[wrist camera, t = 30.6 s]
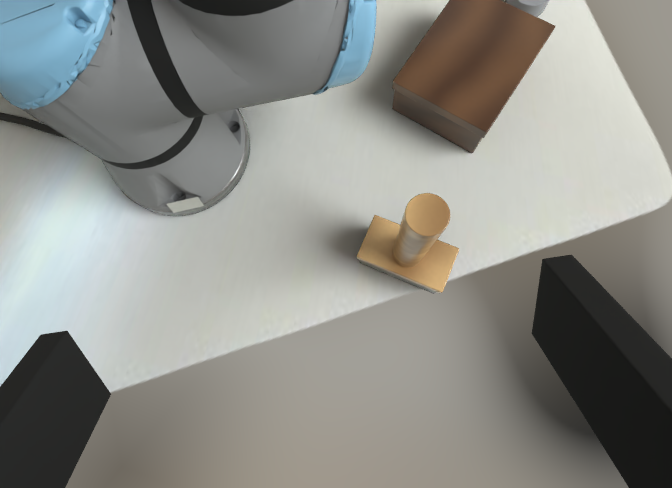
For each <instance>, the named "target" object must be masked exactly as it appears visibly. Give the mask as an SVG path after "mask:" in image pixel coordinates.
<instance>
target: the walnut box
mask: <svg viewBox="0 0 672 488" xmlns="http://www.w3.org/2000/svg"><path fill="white" fill-rule="evenodd" d="M554 28H555V26H554V25H552V24H550V23H548V22H546V21H544V20H542V19H540V18H537V17H535V16H533V15H531V14H529V13H527V12H525V11H523V10H521V9H518V8H516V7H514V6H512V5H510V4H508V3H506V2H504V1H502V0H449V2H448V3H447V5H446V6H445V8H444V9H443V10H442V12H441V13H440V15H439V16H438V18H437V19H436V20H435V22H434V23H433V25H432V26H431V28H430V29H429V30H428V32H427V33H426V35H425V36H424V38H423V39H422V40H421V42H420V43H419V45H418V46H417V48H416V49H415V50H414V52H413V53H412V55H411V56H410V57H409V59H408V60H407V62H406V63H405V65H404V66H403V67H402V69H401V70H400V72H399V73H398V75H397V76H396V77H395V79H394V80H393V84H392V88H393V89H394V99H393V108H392V109H394V110H395V111H397V112H399V113H401V114H403V115H404V116H406V117H408V118H410V119H412V120H413V121H415V122H417V123H419V124H421V125H422V126H424V127H426V128H428V129H430V130H431V131H433V132H435V133H437V134H439V135H440V136H442V137H444V138H446V139H448V140H449V141H451V142H453V143H455V144H457V145H458V146H460V147H462V148H464V149H466V150H467V151H469V152H471V153H473V152H474V150H475V149H476V147H477V146H478V144H479V143H480V141H481V139H482V138H484V137H485V136H486V134H487V132H488V131H489V129H490V128H491V126H492V125H493V123H494V122H495V120H496V119H497V117H498V115H499V114H500V112H501V111H502V109H503V108H504V106H505V105H506V103H507V101H508V100H509V98H510V97H511V95H512V94H513V92H514V91H515V89H516V88H517V86H518V84H519V83H520V81H521V80H522V78H523V77H524V75H525V74H526V72H527V70H528V69H529V67H530V66H531V64H532V63H533V61H534V60H535V58H536V57H537V55H538V53H539V52H540V50H541V49H542V47H543V46H544V44H545V43H546V41H547V39H548V38H549V36H550V35H551V33H552V32H553V30H554Z"/></svg>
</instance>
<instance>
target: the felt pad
mask: <svg viewBox="0 0 672 488" xmlns="http://www.w3.org/2000/svg"><path fill="white" fill-rule="evenodd" d="M548 2H549V0H506V3H508V4H510V5H512V6H514V7H516V8H518V9H521V10H523V11H525V12H527V13H529V14H531V15H533V16H535V17H537V16H539V15H540V14H541V13H542V12H543V11H544V9H545V7H546V5H547V4H548Z"/></svg>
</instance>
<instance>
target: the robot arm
mask: <svg viewBox="0 0 672 488" xmlns="http://www.w3.org/2000/svg"><path fill="white" fill-rule="evenodd" d="M375 26H376V0H0V93H1V94H2V96H3V97H4V98H5V99H6V100H8V101H9V102H10V103H11V104H13V105H15V106H17V107H19V108H21V109H22V110H24V111H26V112H27V113H29V114H30V115H32V116H34V117H35V118H37V119H38V120H40V121H41V122H43V123H45V124H46V125H45V124H42V123H39V122H36V121H33V120H30V119H26V118H22V117H18V116H14V115H9V114H4V113H0V120H4V121H9V122H13V123H18V124H22V125H26V126H29V127H32V128H35V129H38V130H41V131H44V132H47V133H51V134H54V135H58V136H62V137H67V138H69V139H70V140H72V141H73V142H75V143H76V144H78V145H80V146H81V147H83V148H84V149H86V150H88V151H89V152H91V153H92V154H94V155H96V156H97V157H99V158H100V159H101V160H102V162H103V163H104V165H105V167H106V168H107V170H108V172H109V173H110V175H111V176H112V178H113V180H114V181H115V183H116V184H117V186H118V187H119V188H120V189H121V191H122V192H123V193H124V194H125V195H126V196H127V197H128V198H130V199H131V200H132V201H134V202H135V203H137V204H139V205H140V206H142V207H144V208H146V209H148V210H150V211H152V212H155V213H158V214H162V215H169V216H183V215H190V214H194V213H198V212H200V211H203V210H205V209H208V208H210V207H212V206H213V205H215V204H217V203H218V202H219V201H221V200H222V199H223V198H225V197H226V196H227V195H228V194H229V193H230V192H231V191H232V190H233V188H234V187H235V186H236V185H237V183H238V182H239V180H240V179H241V177H242V175H243V173H244V171H245V168H246V166H247V162H248V159H249V153H250V138H249V132H248V128H247V125H246V123H245V121H244V119H243V117H242V115H241V113H240V112H239V110H238V109H239V108H244V107H249V106H254V105H259V104H264V103H269V102H274V101H279V100H284V99H289V98H294V97H300V96H305V95H310V94H314V95H316V94H321V93H322V92H324V91H326V90H327V89H329V88H333V87H336V86H340V85H344V84H347V83H350V82H353V81H354V80H356V79H357V78H358V77H360V76H361V74H362V73H363V72H364V70H365V69H366V67H367V65H368V62H369V60H370V56H371V53H372V48H373V43H374V36H375ZM532 334H533V336H534V338H535V339H536V341H537V342H538V344H539V346H540V347H541V349H542V350H543V352H544V353H545V355H546V357H547V358H548V360H549V361H550V363H551V365H552V366H553V368H554V369H555V371H556V373H557V374H558V376H559V377H560V379H561V380H562V382H563V384H564V385H565V387H566V388H567V390H568V392H569V393H570V395H571V396H572V398H573V400H574V401H575V402H576V404H577V406H578V407H579V409H580V410H581V412H582V414H583V415H584V417H585V419H586V420H587V422H588V423H589V425H590V426H591V428H592V430H593V431H594V433H595V434H596V436H597V438H598V439H599V441H600V442H601V444H602V445H603V447H604V449H605V450H606V452H607V453H608V455H609V457H610V458H611V460H612V461H613V463H614V465H615V466H616V468H617V469H618V471H619V472H620V474H621V476H622V477H623V479H624V480H625V482H626V483H627V485H628V487H629V488H672V358H670V356H669V355H668V354H667V353H666V352H665V351H664V350H663V349H662V348H661V347H660V346H659V345H658V344H657V343H656V342H655V341H654V340H653V339H652V338H651V337H650V336H649V335H648V334H647V332H646V331H645V330H644V329H643V328H642V327H641V326H640V325H639V324H638V323H637V322H636V321H635V320H634V319H633V318H632V317H631V316H630V315H629V314H628V313H627V312H626V311H625V310H624V309H623V307H621V305H620V304H619V303H618V302H617V301H616V300H615V299H614V298H613V297H612V296H611V295H610V294H609V293H608V292H607V291H606V290H605V289H604V288H603V287H602V286H601V285H600V284H599V283H598V282H597V281H596V279H595V278H594V277H593V276H592V275H591V274H590V273H589V272H588V271H587V270H586V269H585V268H584V267H583V266H582V265H581V264H580V263H579V262H578V261H577V260H576V259H575V258H574V257H573V256H572V255H566V256H560V257H553V258H546V259H543V260H542V266H541V274H540V280H539V288H538V294H537V301H536V308H535V315H534V322H533V329H532ZM110 395H111V393H110V392H109V390H108V389H107V388H106V386H105V385H104V383H103V382H102V380H101V379H100V377H99V376H98V375H97V373H96V372H95V370H94V369H93V367H92V366H91V364H90V363H89V362H88V360H87V359H86V357H85V356H84V354H83V353H82V351H81V350H80V349H79V347H78V346H77V344H76V343H75V341H74V340H73V338H72V337H71V336H70V334H69V333H68V331H63V332H56V333H49V334H43V335H40V336H39V338H38V339H37V340H36V342H35V343H34V344H33V345H32V347H31V348H30V349H29V351H28V352H27V353H26V355H25V356H24V357H23V358H22V360H21V361H20V362H19V364H18V365H17V366H16V367H15V369H14V370H13V371H12V373H11V374H10V375H9V376H8V378H7V379H6V380H5V382H4V383H3V384H2V385H1V387H0V488H65V487H66V485H67V483H68V480H69V478H70V477H71V475H72V472H73V470H74V468H75V466H76V464H77V462H78V460H79V458H80V456H81V454H82V452H83V450H84V448H85V446H86V444H87V442H88V440H89V438H90V436H91V434H92V432H93V430H94V427H95V425H96V424H97V422H98V420H99V418H100V415H101V413H102V411H103V409H104V407H105V405H106V403H107V401H108V399H109V397H110Z"/></svg>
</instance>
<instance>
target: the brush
mask: <svg viewBox="0 0 672 488" xmlns="http://www.w3.org/2000/svg"><path fill="white" fill-rule="evenodd" d="M449 221H450V210H449V207H448V205H447V203H446V202H445V201H444V200H443V199H442V198H441V197H439V196H437V195H434V194H430V193H424V194H420V195H417V196H415V197H414V198H412V199H411V200H410V201H409V203H408V204H407V206H406V209H405V212H404V215H403V219H402V222H401V225H399V224H397V223H394V222H392V221H389V220H387V219H384V218H382V217H379V216H377V215H374V217H373V220H372V222H371V224H370V227H369V229H368V231H367V233H366V236H365V238H364V240H363V243H362V245H361V247H360V250H359V252H358V254H357V259H359V260H360V263H362V264H364V265H367V266H369V267H371V268H374V269H376V270H379V271H381V272H383V273H386V274H388V275H390V276H393V277H395V278H398V279H400V280H402V281H405V282H407V283H409V284H412V285H414V286H417V287H419V288H421V289H424V290H426V291H429V292H431V293H436V292H438V293H442V292H443V290H444V287H445V285H446V282H447V280H448V277H449V275H450V272H451V269H452V267H453V264H454V262H455V259H456V257H457V254H458V252H459V248H457V247H454V246H452V245H449V244H447V243H444V242H442V241H439V240H437V239H438V238H439V236H440V235H441V234H442V232H443V231H444V230H445V228H446V227H447V226H448V224H449Z"/></svg>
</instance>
